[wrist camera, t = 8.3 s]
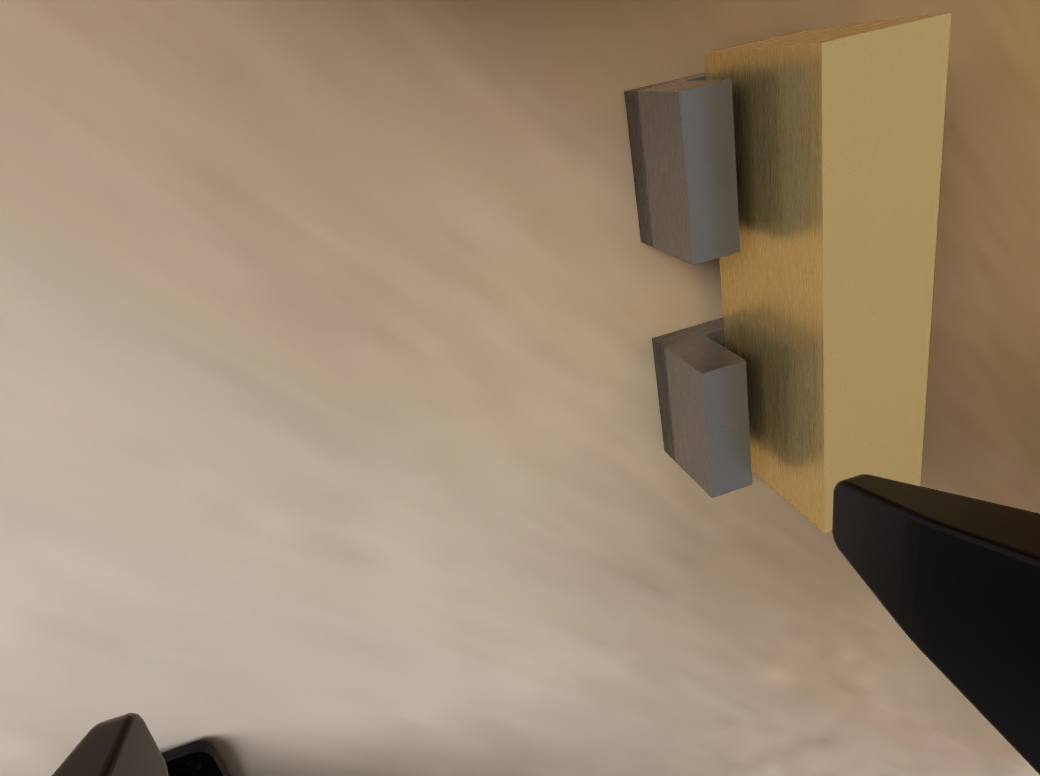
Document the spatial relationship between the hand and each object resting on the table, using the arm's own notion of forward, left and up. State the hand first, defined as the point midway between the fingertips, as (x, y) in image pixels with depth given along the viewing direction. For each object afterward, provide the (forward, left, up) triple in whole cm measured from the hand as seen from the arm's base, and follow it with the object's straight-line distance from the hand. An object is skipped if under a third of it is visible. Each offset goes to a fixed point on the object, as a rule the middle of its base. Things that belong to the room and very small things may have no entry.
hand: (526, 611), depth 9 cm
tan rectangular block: (-1, -11, -11) cm, 15 cm away
